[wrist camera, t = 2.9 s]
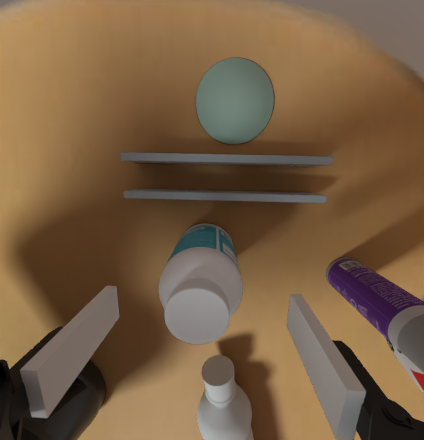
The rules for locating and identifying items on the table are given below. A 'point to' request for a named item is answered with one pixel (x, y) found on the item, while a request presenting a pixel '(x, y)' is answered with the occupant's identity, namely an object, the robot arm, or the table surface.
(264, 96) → the spot
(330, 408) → the robot arm
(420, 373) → the cup
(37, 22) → the table surface
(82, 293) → the table surface
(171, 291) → the pill bottle
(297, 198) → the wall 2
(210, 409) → the bottle
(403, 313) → the container
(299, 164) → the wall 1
